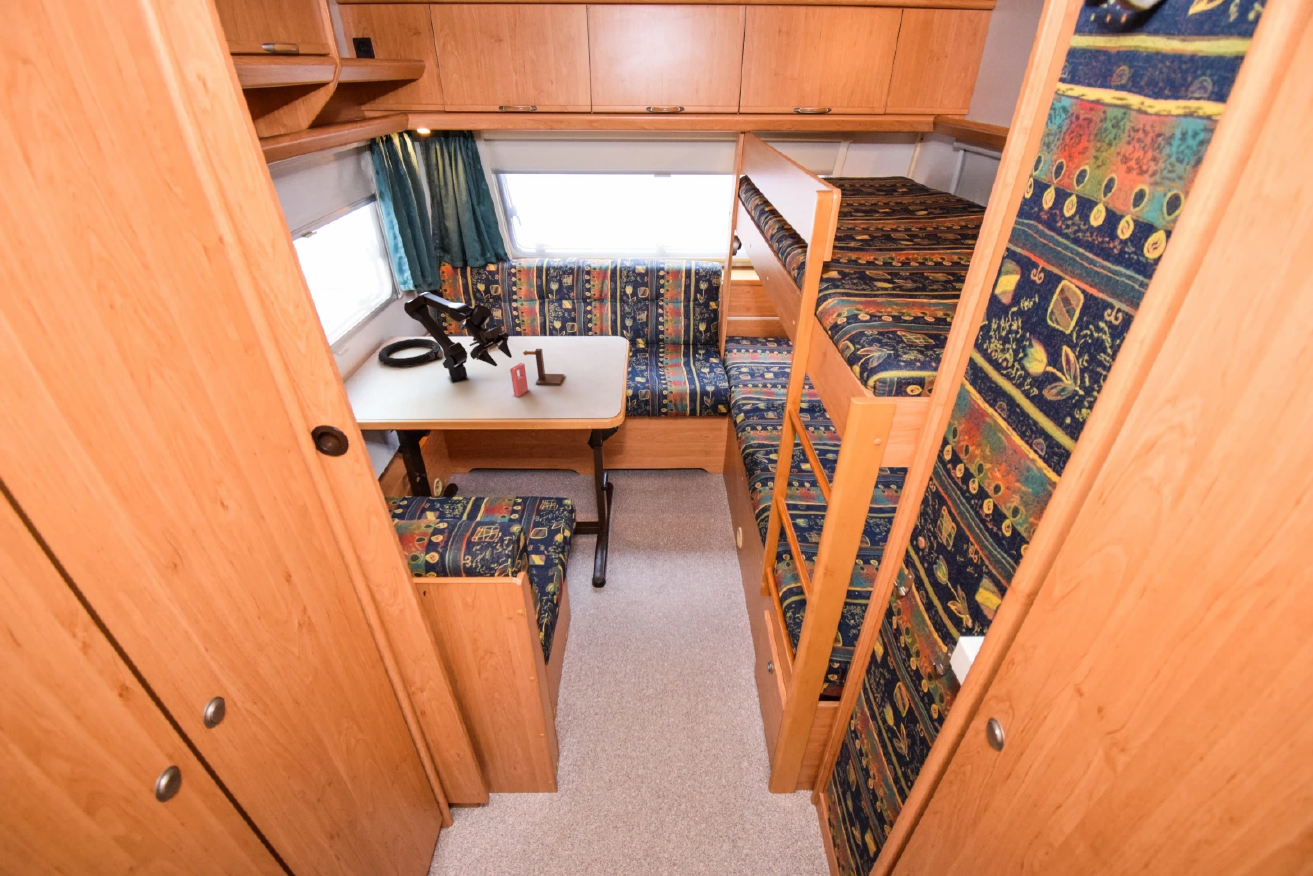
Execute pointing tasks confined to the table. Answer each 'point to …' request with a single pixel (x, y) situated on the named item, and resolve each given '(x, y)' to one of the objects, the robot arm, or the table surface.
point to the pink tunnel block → (519, 379)
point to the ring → (411, 360)
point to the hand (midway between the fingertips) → (504, 361)
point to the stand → (542, 377)
